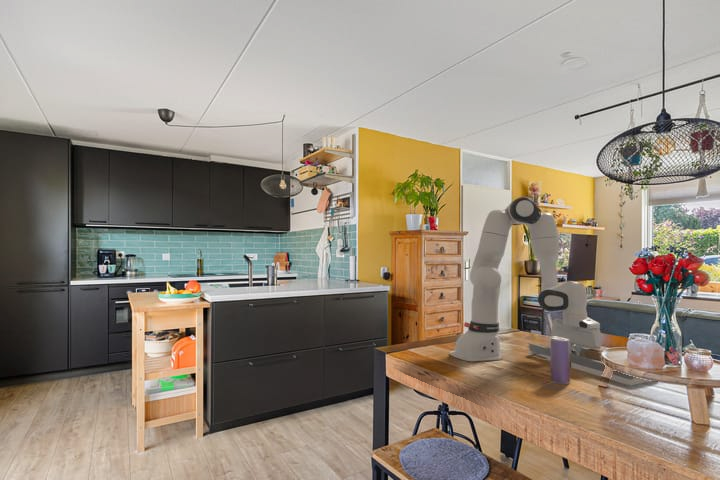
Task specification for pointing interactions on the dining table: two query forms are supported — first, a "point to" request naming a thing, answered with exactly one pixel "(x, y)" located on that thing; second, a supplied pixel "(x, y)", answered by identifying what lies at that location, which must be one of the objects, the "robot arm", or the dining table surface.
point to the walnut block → (593, 354)
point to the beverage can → (560, 360)
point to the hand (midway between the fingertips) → (575, 354)
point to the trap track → (585, 364)
